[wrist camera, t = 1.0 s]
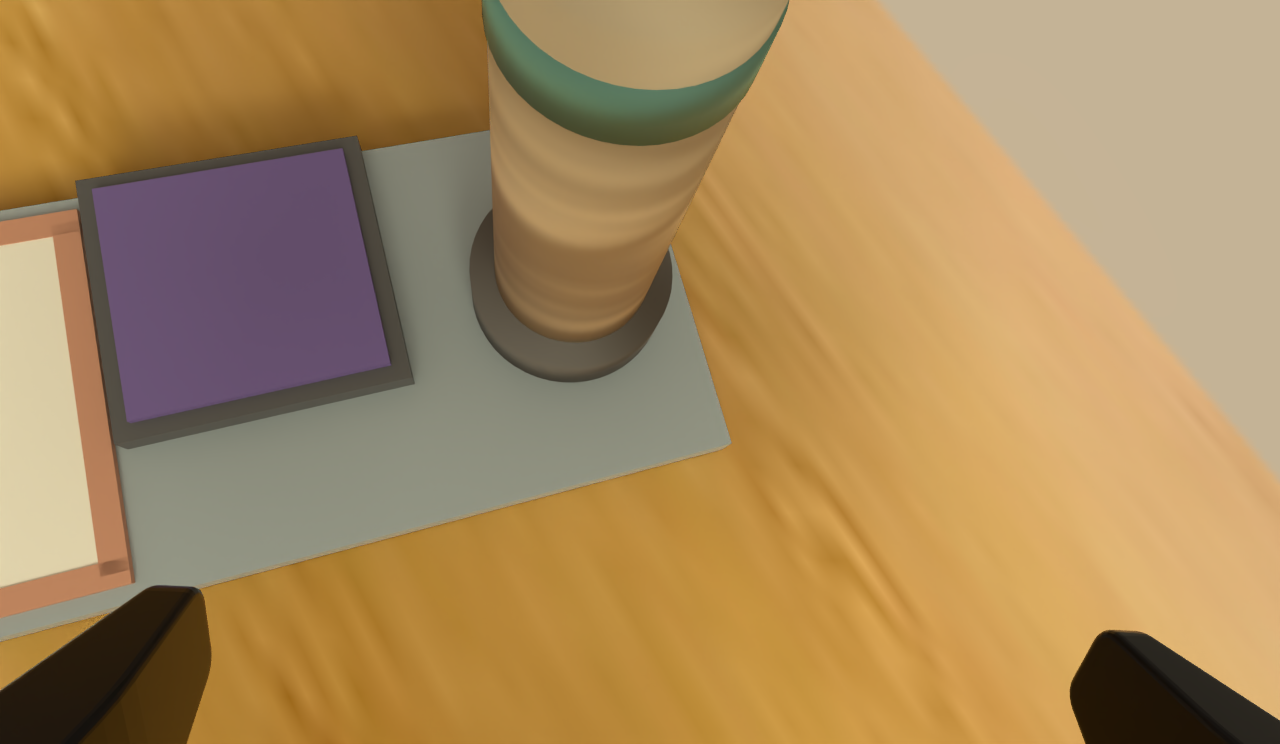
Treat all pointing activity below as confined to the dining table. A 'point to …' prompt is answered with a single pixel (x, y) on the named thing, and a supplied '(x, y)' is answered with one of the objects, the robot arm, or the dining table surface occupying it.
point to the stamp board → (283, 375)
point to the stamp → (600, 165)
